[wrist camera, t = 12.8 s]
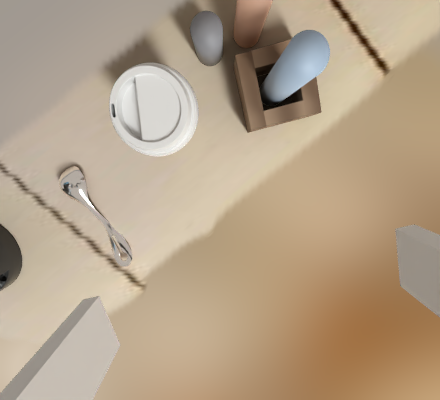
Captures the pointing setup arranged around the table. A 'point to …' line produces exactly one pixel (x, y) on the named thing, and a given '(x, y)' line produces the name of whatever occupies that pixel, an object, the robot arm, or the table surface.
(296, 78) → the tall dowel
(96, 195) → the table surface
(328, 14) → the table surface
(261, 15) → the medium dowel
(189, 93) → the coffee cup
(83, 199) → the silver metal utensil
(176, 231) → the table surface
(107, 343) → the robot arm
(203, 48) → the short dowel
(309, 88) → the socket block
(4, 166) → the table surface
